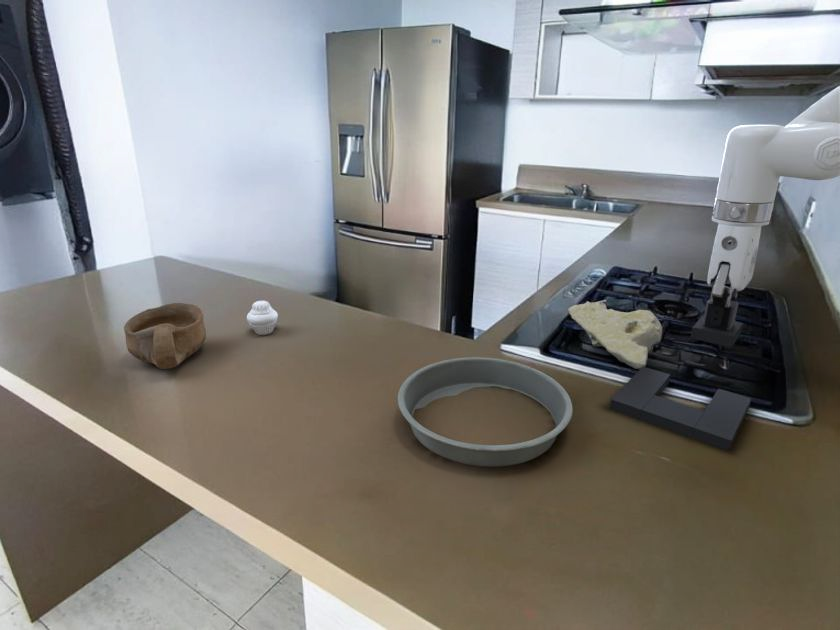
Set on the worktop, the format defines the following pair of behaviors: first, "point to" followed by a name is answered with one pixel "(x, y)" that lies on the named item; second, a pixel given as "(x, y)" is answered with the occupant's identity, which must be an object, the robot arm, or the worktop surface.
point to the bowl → (165, 334)
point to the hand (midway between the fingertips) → (718, 323)
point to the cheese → (619, 331)
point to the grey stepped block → (717, 335)
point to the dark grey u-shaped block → (682, 409)
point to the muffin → (262, 318)
